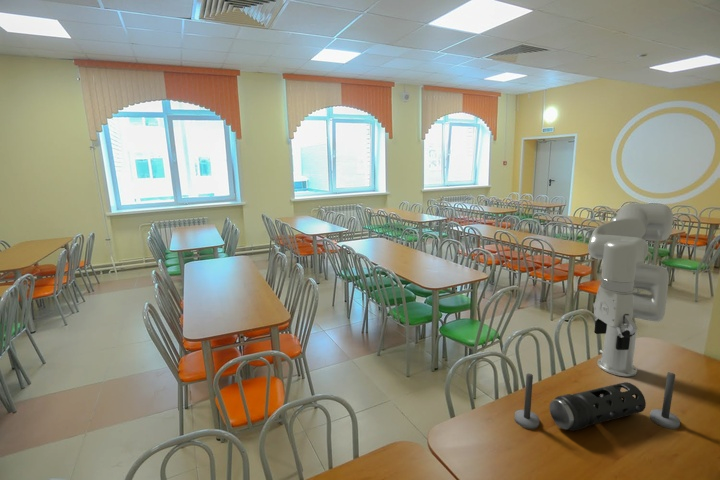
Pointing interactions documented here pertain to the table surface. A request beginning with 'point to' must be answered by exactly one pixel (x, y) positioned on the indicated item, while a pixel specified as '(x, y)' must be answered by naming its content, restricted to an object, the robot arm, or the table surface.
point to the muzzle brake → (596, 406)
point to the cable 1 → (527, 408)
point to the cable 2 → (666, 407)
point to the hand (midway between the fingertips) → (610, 341)
